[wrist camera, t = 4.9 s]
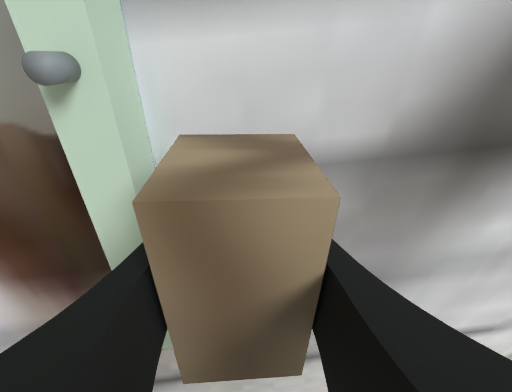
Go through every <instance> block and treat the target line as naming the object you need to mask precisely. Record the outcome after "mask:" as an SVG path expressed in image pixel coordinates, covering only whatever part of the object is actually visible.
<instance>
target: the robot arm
mask: <svg viewBox="0 0 512 392" xmlns="http://www.w3.org/2000/svg"><path fill="white" fill-rule="evenodd" d="M167 329H168V328H167V324H166V321H165V317H164V314H163V310H162V307H161V303H160V300H159V296H158V293H157V289H156V286H155V282H154V278H153V275H152V271H151V268H150V264H149V261H148V257H147V254H146V250H145V247H144V243H143V242H142V243H141V244H140V245H139V246H138V247H137V248H136V249H135V250H134V251H133V252H132V253H131V254H130V255H129V256H128V257H127V258H126V259H124V260H123V261H122V262H121V263H120V264H119V265H118V266H117V267H116V268H115V269H113V270H112V271H111V272H110V273H109V274H108V275H107V276H105V277H104V278H103V279H102V280H101V281H100V282H99V283H97V284H96V285H95V286H94V287H93V288H91V289H90V290H89V291H88V292H87V293H85V294H84V295H83V296H81V297H80V298H79V299H78V300H76V301H75V302H74V303H72V304H71V305H70V306H68V307H67V308H66V309H64V310H63V311H62V312H60V313H59V314H58V315H56V316H55V317H54V318H52V319H51V320H49V321H48V322H47V323H45V324H44V325H42V326H41V327H39V328H38V329H36V330H35V331H33V332H32V333H30V334H29V335H27V336H26V337H24V338H23V339H21V340H20V341H19V342H17V343H16V344H14V345H13V346H11V347H10V348H8V349H7V350H5V351H4V352H2V353H1V354H0V392H152V390H153V385H154V380H155V375H156V370H157V365H158V361H159V357H160V353H161V349H162V346H163V343H164V339H165V336H166V332H167ZM312 329H313V332H314V335H315V338H316V342H317V345H318V349H319V352H320V356H321V361H322V365H323V369H324V374H325V378H326V383H327V387H328V392H512V360H510V359H508V358H506V357H504V356H502V355H500V354H498V353H497V352H495V351H493V350H491V349H489V348H487V347H486V346H484V345H482V344H480V343H478V342H476V341H475V340H473V339H471V338H469V337H467V336H466V335H464V334H462V333H460V332H459V331H457V330H455V329H454V328H452V327H450V326H448V325H447V324H445V323H443V322H442V321H440V320H439V319H437V318H435V317H434V316H432V315H431V314H429V313H427V312H426V311H424V310H422V309H421V308H419V307H418V306H416V305H415V304H413V303H412V302H410V301H409V300H407V299H406V298H404V297H403V296H402V295H400V294H399V293H397V292H396V291H394V290H393V289H392V288H390V287H389V286H387V285H386V284H385V283H383V282H382V281H381V280H379V279H378V278H377V277H375V276H374V275H373V274H372V273H371V272H369V271H368V270H367V269H366V268H364V267H363V266H362V265H361V264H359V263H358V262H357V261H356V260H355V259H354V258H352V257H351V256H350V255H349V254H348V253H347V252H346V251H345V250H343V249H342V248H341V247H340V246H339V245H338V244H337V243H336V242H335V241H334V240H333V239H331V244H330V248H329V253H328V257H327V262H326V267H325V271H324V276H323V280H322V285H321V289H320V294H319V298H318V303H317V307H316V312H315V316H314V321H313V326H312Z"/></svg>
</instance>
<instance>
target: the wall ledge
mask: <svg viewBox="0 0 512 392" xmlns="http://www.w3.org/2000/svg"><path fill="white" fill-rule="evenodd" d="M4 1H5V3H6V5H7V8H8V11H9V13H10V16H11V18H12V21H13V23H14V26H15V28H16V31H17V33H18V36H19V38H20V41H21V43H22V46H23V48H24V51H25V54H24V55H23V58H22V66H23V69H24V71H25V73H26V74H27V75H28V77H29V78H30V79H31V80H33V81H34V82H35V83H37V84H38V86H39V89H40V91H41V94H42V96H43V99H44V101H45V104H46V106H47V109H48V112H49V114H50V117H51V119H52V122H53V124H54V126H55V129H56V132H57V134H58V137H59V139H60V142H61V144H62V147H63V149H64V152H65V154H66V157H67V159H68V162H69V164H70V167H71V169H72V172H73V175H74V177H75V180H76V182H77V185H78V187H79V190H80V192H81V195H82V197H83V200H84V202H85V205H86V207H87V210H88V212H89V215H90V217H91V220H92V222H93V225H94V227H95V230H96V232H97V235H98V238H99V240H100V243H101V245H102V248H103V250H104V253H105V255H106V258H107V260H108V263H109V265H110V268H111V270H113V269H115V268H116V267H117V266H118V265H119V264H120V263H121V262H122V261H123V260H124V259H126V258H127V257H128V256H129V255H130V254H131V253H132V252H133V251H134V250H135V249H136V248H137V247H138V246H139V245H140V244H141V243H142V242H143V240H142V236H141V233H140V229H139V226H138V222H137V219H136V215H135V211H134V208H133V204H132V201H133V200H134V198H135V197H136V196H137V194H138V193H139V191H140V190H141V189H142V187H143V186H144V184H145V183H146V182H147V180H148V179H149V177H150V176H151V175H152V173H153V172H154V170H155V167H154V162H153V157H152V152H151V148H150V143H149V138H148V133H147V129H146V124H145V119H144V114H143V110H142V105H141V100H140V95H139V91H138V86H137V81H136V76H135V71H134V67H133V62H132V57H131V52H130V48H129V43H128V38H127V33H126V29H125V24H124V19H123V14H122V10H121V5H120V0H4ZM162 349H173V345H172V342H171V338H170V335H169V331H168V329H167V332H166V336H165V339H164V343H163V346H162Z"/></svg>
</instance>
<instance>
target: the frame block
mask: <svg viewBox="0 0 512 392" xmlns="http://www.w3.org/2000/svg"><path fill="white" fill-rule="evenodd" d="M340 199H341V197H340V196H339V194H338V193H337V191H336V190H335V189H334V187H333V186H332V185H331V183H330V182H329V181H328V179H327V178H326V177H325V175H324V174H323V172H322V171H321V170H320V168H319V167H318V166H317V164H316V163H315V162H314V160H313V159H312V157H311V156H310V155H309V153H308V152H307V151H306V149H305V148H304V147H303V145H302V144H301V143H300V141H299V140H298V138H297V137H296V136H295V134H235V135H179V137H178V138H177V140H176V141H175V142H174V144H173V145H172V147H171V148H170V149H169V151H168V152H167V154H166V155H165V156H164V158H163V159H162V161H161V162H160V163H159V165H158V166H157V168H156V169H155V170H154V172H153V173H152V175H151V176H150V177H149V179H148V180H147V182H146V183H145V184H144V186H143V187H142V189H141V190H140V191H139V193H138V194H137V196H136V197H135V198H134V200H133V201H132V204H133V208H134V211H135V215H136V219H137V222H138V226H139V229H140V233H141V236H142V240H143V243H144V247H145V250H146V254H147V257H148V261H149V264H150V268H151V271H152V275H153V278H154V282H155V286H156V289H157V293H158V296H159V300H160V303H161V307H162V310H163V314H164V317H165V321H166V324H167V328H168V331H169V335H170V338H171V342H172V345H173V349H174V352H175V356H176V360H177V363H178V367H179V370H180V374H181V377H182V381H183V384H189V383H203V382H216V381H230V380H244V379H257V378H271V377H285V376H298V375H302V371H303V366H304V362H305V357H306V353H307V348H308V344H309V339H310V335H311V330H312V326H313V321H314V316H315V312H316V307H317V303H318V298H319V294H320V289H321V285H322V280H323V276H324V271H325V267H326V262H327V257H328V253H329V248H330V244H331V239H332V235H333V230H334V226H335V221H336V217H337V212H338V208H339V203H340Z"/></svg>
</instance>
